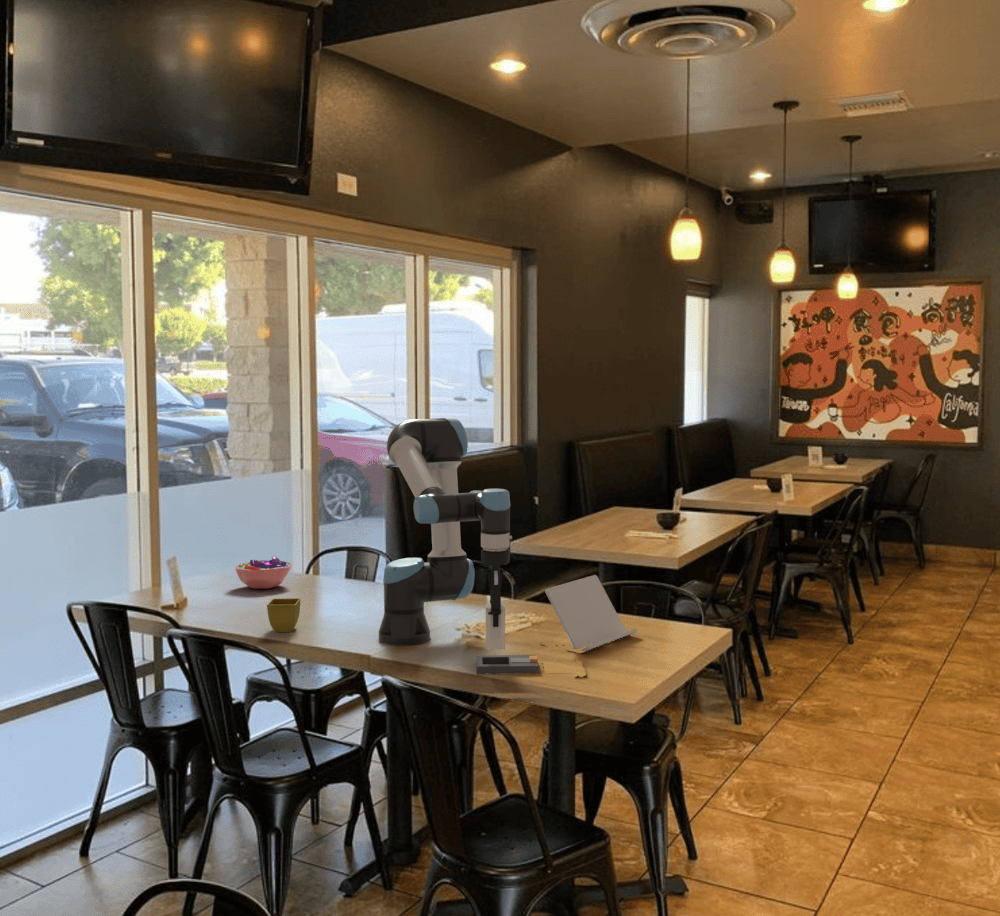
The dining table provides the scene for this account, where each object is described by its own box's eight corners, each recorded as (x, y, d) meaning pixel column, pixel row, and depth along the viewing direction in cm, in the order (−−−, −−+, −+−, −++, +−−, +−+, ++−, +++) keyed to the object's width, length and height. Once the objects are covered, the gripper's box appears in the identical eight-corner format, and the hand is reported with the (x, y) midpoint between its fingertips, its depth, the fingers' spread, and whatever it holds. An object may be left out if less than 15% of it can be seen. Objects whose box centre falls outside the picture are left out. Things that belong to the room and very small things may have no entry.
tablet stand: (538, 645, 305) (538, 587, 303) (588, 627, 324) (588, 573, 322) (590, 656, 293) (590, 596, 292) (638, 638, 313) (639, 581, 311)
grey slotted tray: (477, 677, 274) (476, 663, 274) (476, 666, 284) (476, 652, 284) (538, 677, 275) (538, 662, 274) (536, 665, 285) (536, 651, 284)
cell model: (235, 584, 384) (234, 553, 383) (291, 581, 389) (290, 551, 388) (235, 594, 368) (234, 562, 367) (293, 591, 373) (293, 559, 372)
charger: (485, 649, 277) (486, 606, 275) (485, 644, 281) (485, 602, 280) (505, 649, 277) (505, 606, 275) (504, 644, 281) (504, 602, 280)
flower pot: (273, 626, 325) (272, 598, 324) (301, 626, 326) (300, 597, 325) (267, 634, 317) (266, 604, 316) (296, 634, 317) (295, 604, 316)
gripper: (511, 555, 267) (510, 644, 270) (508, 541, 285) (508, 626, 287) (481, 555, 267) (481, 645, 270) (480, 542, 284) (480, 626, 287)
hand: (495, 635), depth 279 cm, fingers closed on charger, 4 cm apart
